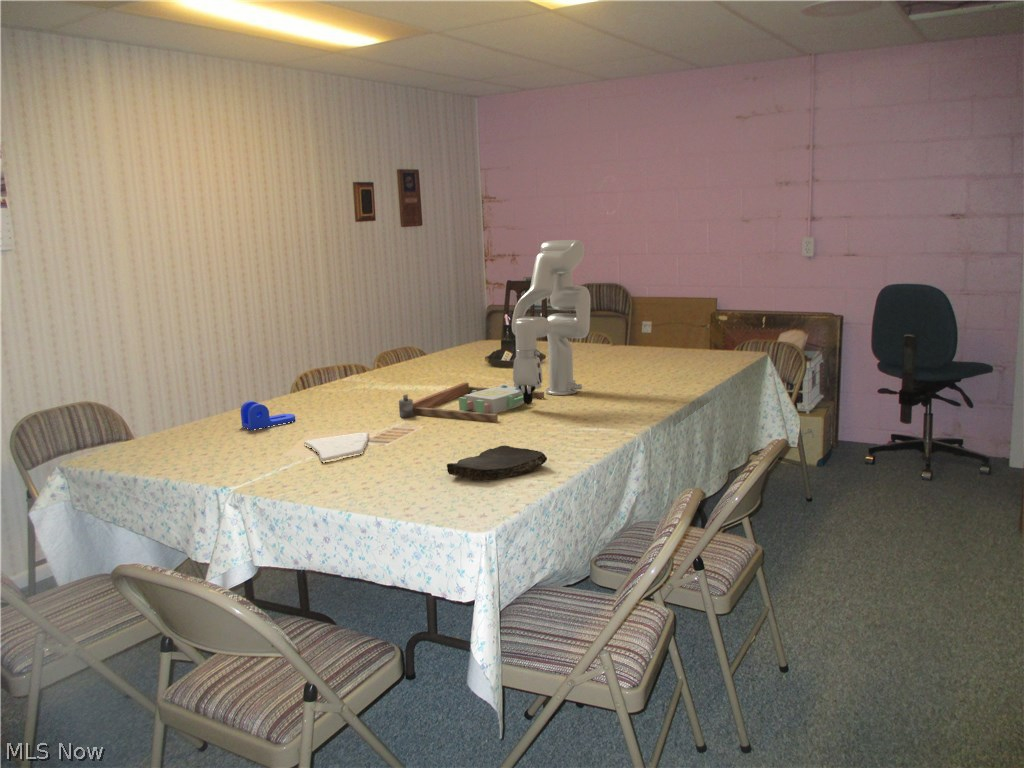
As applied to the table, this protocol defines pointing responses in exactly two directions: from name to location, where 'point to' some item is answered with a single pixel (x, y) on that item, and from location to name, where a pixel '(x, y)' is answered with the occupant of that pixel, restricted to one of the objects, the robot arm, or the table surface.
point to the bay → (426, 404)
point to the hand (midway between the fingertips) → (528, 403)
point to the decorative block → (492, 399)
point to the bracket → (261, 416)
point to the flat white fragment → (339, 445)
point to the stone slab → (497, 463)
